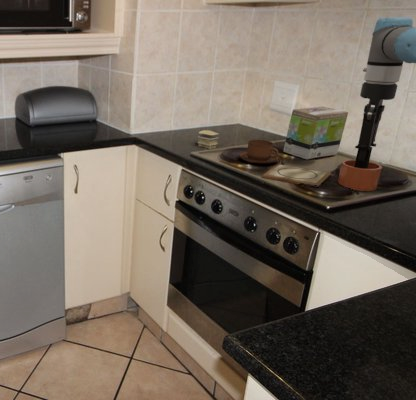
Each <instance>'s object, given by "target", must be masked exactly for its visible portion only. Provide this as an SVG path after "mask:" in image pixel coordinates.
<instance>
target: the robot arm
mask: <svg viewBox="0 0 416 400" xmlns="http://www.w3.org/2000/svg"><path fill="white" fill-rule="evenodd" d="M413 23H414V21H413V19H412V18H411V17H380V18H378V19H377V20H376V22H375V26H374V29H373V31H372V35H371V36H372V38H371V43H370V47H369V52H368V57H367V63H366V67H363V69H362V72H363V73H364V75H363V80H364V81H365V82H363V83H362V84H361V89H360V94H359V96H360V97H361V98H362V99H368V100H369V101H368V103H367V104H365V105H364V109H363V114H362V116H363V117H362V123H361V128H360V134H359V138H358V143H357V145H355V146H354V148H355V149H357V153H356V157H355V160H356V161H355V165H354V167H356V168H362V169H367V168H368V164H369V162H370V160H371V155H372V151H373V147H375V148H376V147H377V143H375V142H376V138H377V132H378V129H379V125H380V122H381V120H382V115H383V113H384V111H385V108H386V105H383V103H384V101H390V100H394V99H395V98H396V94H397V90H398V84H397V83H398V82H400V79H401V76H402V75H401V74H402V70H403V64H404V63H406V64H416V26H413ZM371 141H372V142H371ZM370 145H371V146H370Z"/></svg>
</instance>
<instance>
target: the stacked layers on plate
mask: <svg viewBox="0 0 416 400" xmlns="http://www.w3.org/2000/svg"><path fill="white" fill-rule="evenodd" d="M216 135H219V133H218V132H216V131H213V130H207V129H206V130H205V129H204V130H200V131H198V136H197V137H198V140H197V146H198V147H201V148H202V147H203V148H206V149H209V150H212V149H217V145H218V144H219V143H218V140H219V138H220V137H218V136H216Z"/></svg>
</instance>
